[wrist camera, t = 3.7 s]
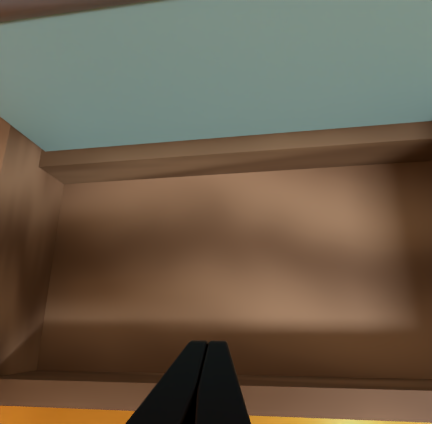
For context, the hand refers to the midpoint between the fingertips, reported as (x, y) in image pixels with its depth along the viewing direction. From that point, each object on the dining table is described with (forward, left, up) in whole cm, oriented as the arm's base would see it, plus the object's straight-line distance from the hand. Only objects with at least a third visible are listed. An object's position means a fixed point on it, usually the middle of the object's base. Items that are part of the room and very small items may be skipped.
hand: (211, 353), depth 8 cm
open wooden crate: (-1, -4, -11) cm, 12 cm away
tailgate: (-3, -11, -7) cm, 13 cm away
